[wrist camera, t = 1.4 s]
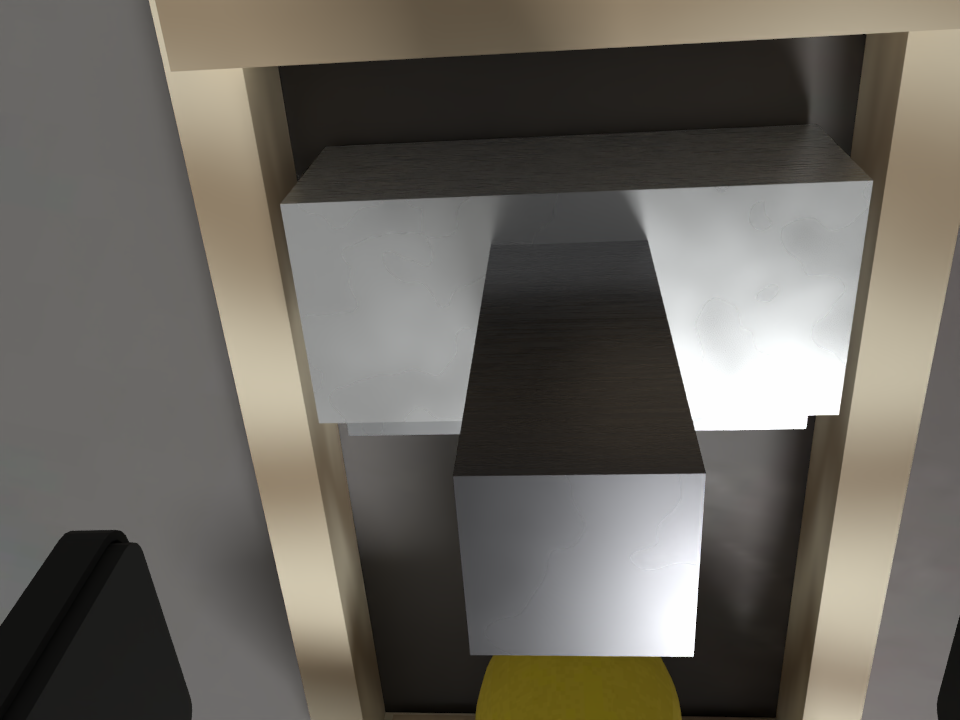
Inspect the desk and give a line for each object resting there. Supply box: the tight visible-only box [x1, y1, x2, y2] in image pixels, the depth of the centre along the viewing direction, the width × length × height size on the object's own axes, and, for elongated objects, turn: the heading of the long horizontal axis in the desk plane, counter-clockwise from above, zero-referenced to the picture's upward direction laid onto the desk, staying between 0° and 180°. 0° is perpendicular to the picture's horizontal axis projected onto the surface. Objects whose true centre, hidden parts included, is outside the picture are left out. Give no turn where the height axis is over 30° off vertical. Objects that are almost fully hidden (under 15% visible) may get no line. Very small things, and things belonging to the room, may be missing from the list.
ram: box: [280, 124, 873, 657], centre depth 17 cm, size 6×11×12 cm, turn 94°
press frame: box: [149, 0, 960, 720], centre depth 21 cm, size 26×16×8 cm, turn 4°
